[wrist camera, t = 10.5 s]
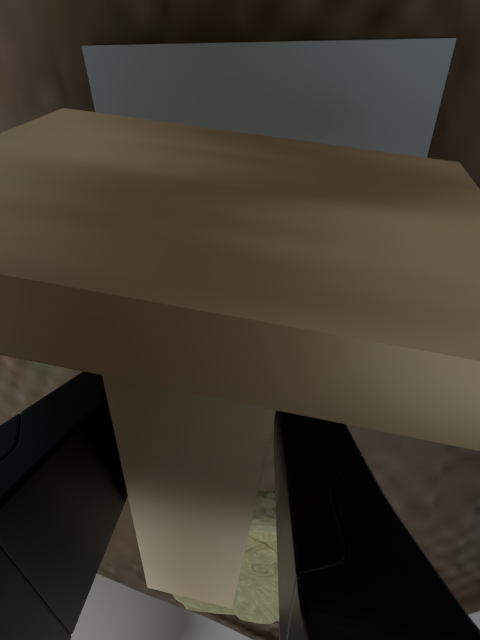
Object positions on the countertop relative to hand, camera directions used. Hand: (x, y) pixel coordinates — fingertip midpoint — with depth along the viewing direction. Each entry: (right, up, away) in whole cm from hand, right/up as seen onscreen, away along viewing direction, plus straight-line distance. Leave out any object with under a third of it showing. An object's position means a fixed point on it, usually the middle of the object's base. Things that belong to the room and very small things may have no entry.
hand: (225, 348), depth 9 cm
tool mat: (+1, +5, +10) cm, 11 cm away
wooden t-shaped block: (0, -1, +2) cm, 2 cm away
